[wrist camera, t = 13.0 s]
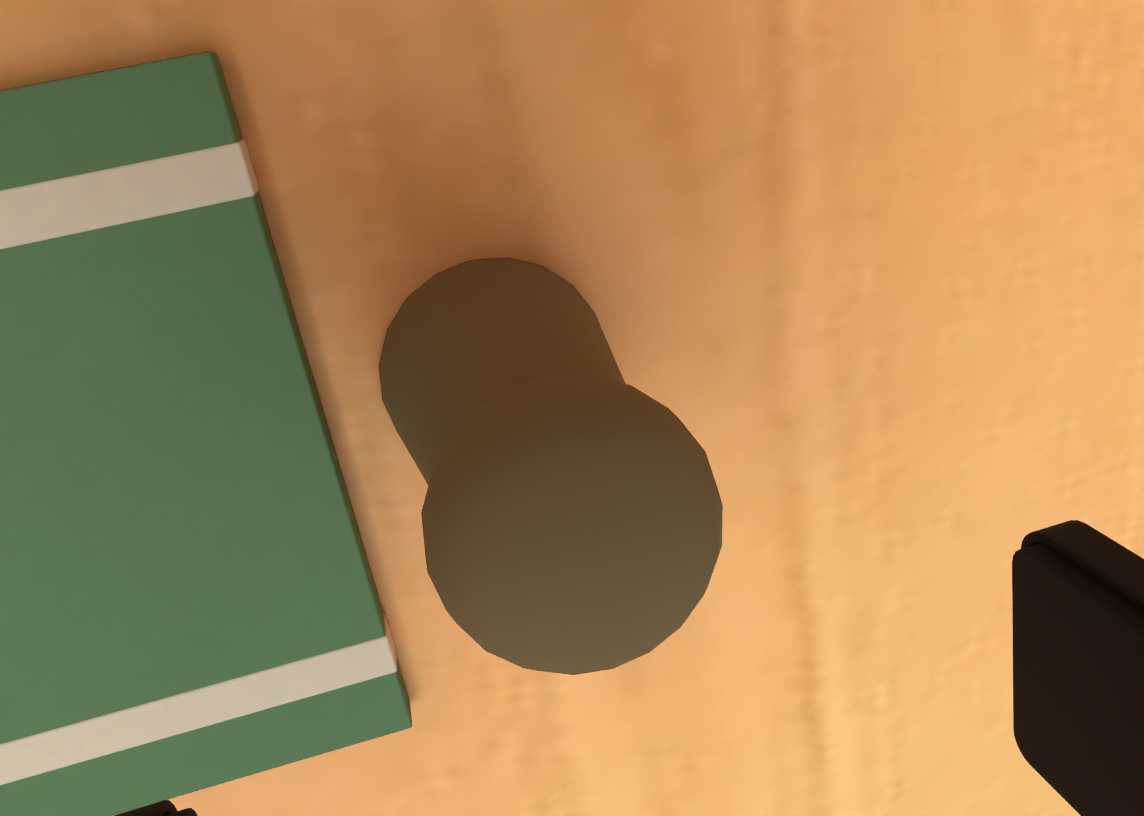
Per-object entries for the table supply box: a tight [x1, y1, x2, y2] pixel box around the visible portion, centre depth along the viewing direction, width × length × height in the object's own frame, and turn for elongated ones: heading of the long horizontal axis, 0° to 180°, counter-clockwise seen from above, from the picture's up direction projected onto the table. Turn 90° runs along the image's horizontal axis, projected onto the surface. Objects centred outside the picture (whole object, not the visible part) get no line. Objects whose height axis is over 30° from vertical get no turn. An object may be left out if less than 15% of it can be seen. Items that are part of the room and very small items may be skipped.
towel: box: [0, 52, 412, 816], centre depth 23 cm, size 18×12×1 cm
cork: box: [379, 258, 723, 675], centre depth 20 cm, size 6×6×11 cm
